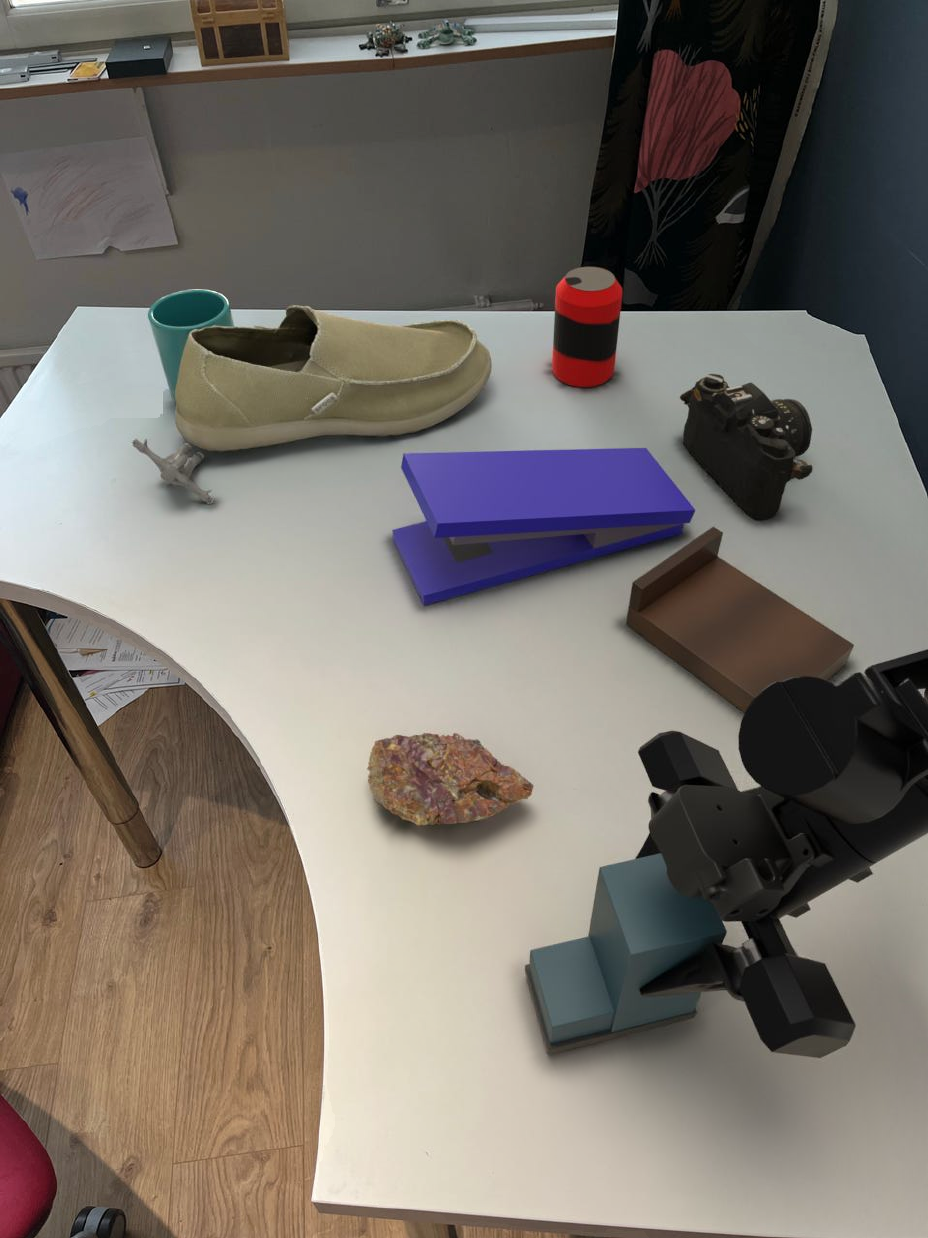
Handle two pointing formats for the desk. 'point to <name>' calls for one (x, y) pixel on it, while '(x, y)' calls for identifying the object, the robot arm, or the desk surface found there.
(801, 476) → the film camera
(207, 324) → the cup
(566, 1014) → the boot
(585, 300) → the soda can
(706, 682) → the brown lipped tray
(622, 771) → the desk surface
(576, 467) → the stapler
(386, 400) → the loafer
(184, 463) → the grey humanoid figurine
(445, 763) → the mineral specimen
